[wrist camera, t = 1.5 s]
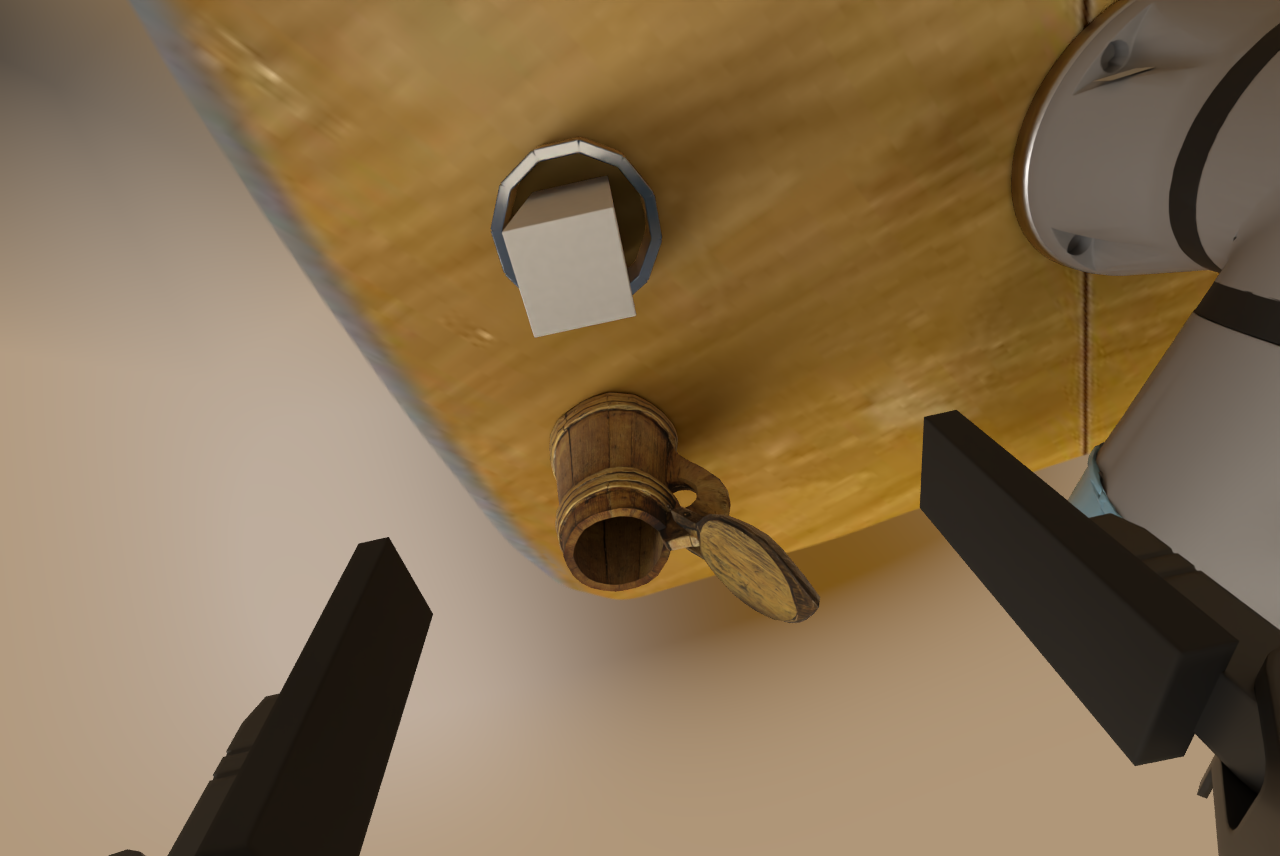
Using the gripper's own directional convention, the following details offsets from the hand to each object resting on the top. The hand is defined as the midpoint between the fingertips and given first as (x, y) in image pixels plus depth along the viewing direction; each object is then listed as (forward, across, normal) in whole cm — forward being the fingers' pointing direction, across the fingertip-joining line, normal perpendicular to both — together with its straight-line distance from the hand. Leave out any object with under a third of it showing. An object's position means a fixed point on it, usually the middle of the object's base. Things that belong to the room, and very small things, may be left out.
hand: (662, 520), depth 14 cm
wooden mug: (+24, +1, +12) cm, 27 cm away
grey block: (+24, +2, -3) cm, 24 cm away
